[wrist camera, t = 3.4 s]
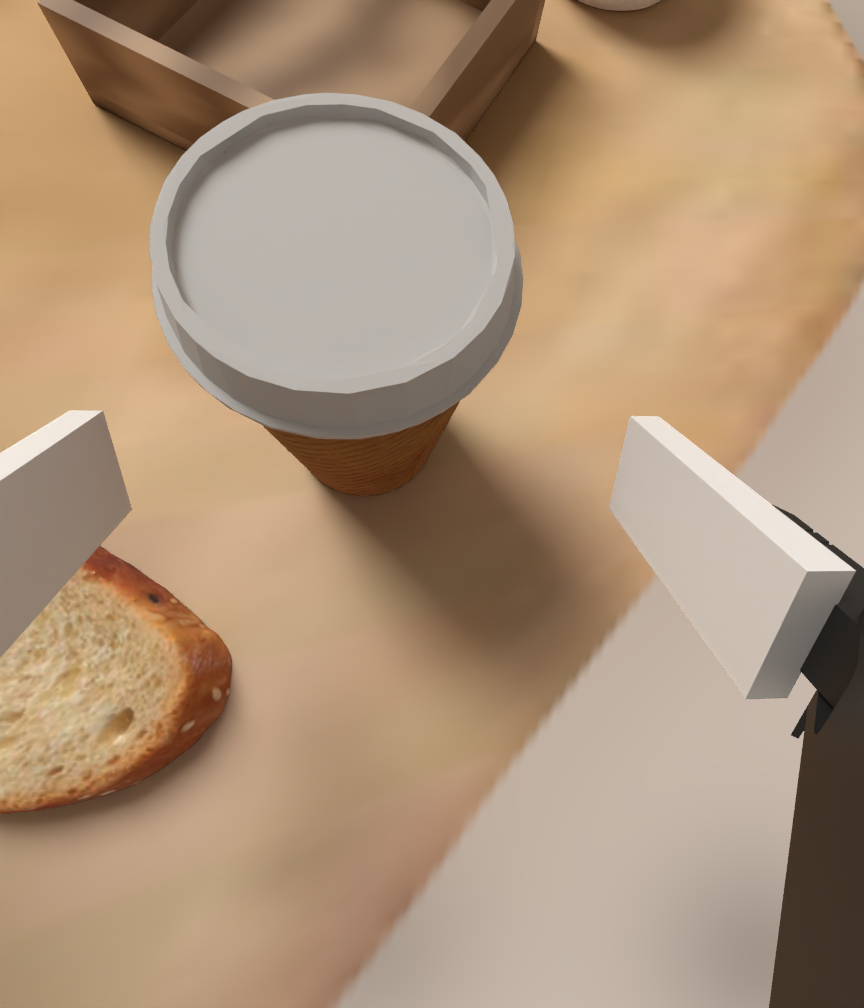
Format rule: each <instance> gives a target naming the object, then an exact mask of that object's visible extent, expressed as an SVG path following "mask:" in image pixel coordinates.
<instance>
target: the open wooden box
mask: <svg viewBox="0 0 864 1008" xmlns="http://www.w3.org/2000/svg"><path fill="white" fill-rule="evenodd" d="M544 3H545V0H40V1H39V2H38V5H39V6H40V8H41V10H42V12H43V14H44V15H45V17H46V19H47V21H48V23H49V24H50V26H51V28H52V30H53V31H54V33H55V35H56V37H57V39H58V40H59V42H60V44H61V46H62V48H63V49H64V51H65V53H66V55H67V57H68V58H69V60H70V62H71V64H72V65H73V67H74V69H75V71H76V73H77V74H78V76H79V78H80V80H81V82H82V83H83V85H84V87H85V89H86V91H87V92H88V94H89V96H90V98H91V99H92V101H93V103H94V104H96V105H98V106H99V107H101V108H103V109H105V110H107V111H109V112H111V113H113V114H115V115H117V116H119V117H121V118H123V119H125V120H127V121H129V122H131V123H133V124H135V125H137V126H139V127H141V128H143V129H145V130H147V131H149V132H151V133H153V134H155V135H157V136H159V137H160V138H162V139H164V140H166V141H168V142H170V143H172V144H174V145H176V146H178V147H180V148H182V149H184V150H186V151H187V150H188V149H189V148H190V147H191V146H192V145H193V144H194V143H195V142H196V141H197V140H198V139H199V138H200V137H201V136H203V135H204V134H206V133H207V132H209V131H210V130H211V129H213V128H214V127H216V126H217V125H219V124H220V123H221V122H223V121H225V120H227V119H229V118H230V117H232V116H234V115H236V114H238V113H240V112H242V111H244V110H247V109H249V108H252V107H255V106H258V105H261V104H264V103H266V102H269V101H272V100H277V99H282V98H288V97H293V96H298V95H304V94H316V93H339V94H355V95H361V96H366V97H371V98H376V99H381V100H386V101H391V102H394V103H397V104H399V105H402V106H404V107H407V108H410V109H412V110H415V111H417V112H420V113H422V114H424V115H426V116H428V117H429V118H431V119H433V120H434V121H436V122H438V123H439V124H441V125H443V126H444V127H446V128H448V129H450V130H451V131H453V132H455V133H456V134H457V135H458V136H459V137H460V138H461V139H462V140H463V141H464V142H465V141H466V139H467V138H468V136H469V135H470V133H471V132H472V131H473V129H474V128H475V126H476V125H477V123H478V122H479V121H480V119H481V118H482V116H483V115H484V113H485V112H486V111H487V109H488V108H489V106H490V105H491V103H492V102H493V101H494V99H495V98H496V96H497V95H498V93H499V92H500V90H501V89H502V88H503V86H504V85H505V83H506V82H507V80H508V79H509V78H510V76H511V75H512V73H513V72H514V70H515V69H516V68H517V66H518V65H519V63H520V62H521V60H522V59H523V58H524V56H525V55H526V53H527V52H528V50H529V49H530V48H531V46H532V45H533V43H534V42H535V40H536V37H537V33H538V29H539V24H540V20H541V16H542V12H543V7H544Z"/></svg>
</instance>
